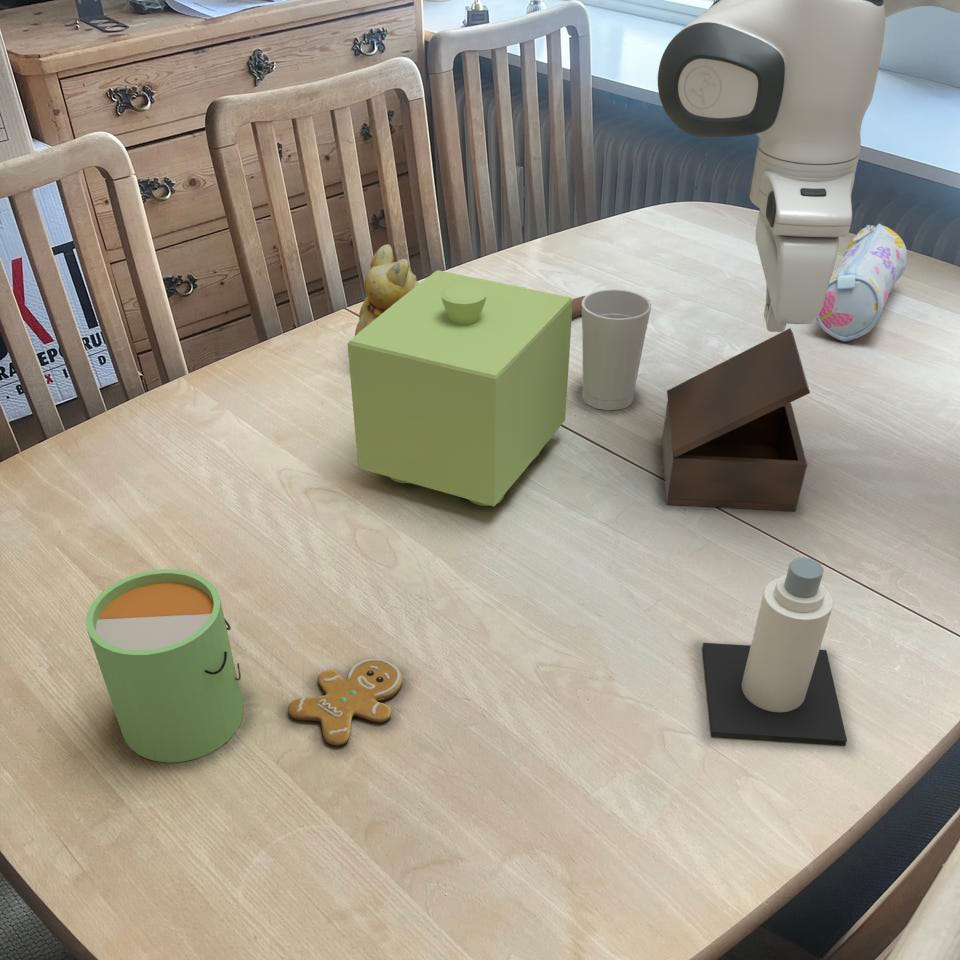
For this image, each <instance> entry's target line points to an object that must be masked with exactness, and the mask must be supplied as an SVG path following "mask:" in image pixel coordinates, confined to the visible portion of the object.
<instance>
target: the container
mask: <svg viewBox="0 0 960 960" xmlns="http://www.w3.org/2000/svg"><path fill="white" fill-rule="evenodd" d="M418 284H419V285H417V286H416V287H415V288H413V289H412V290H411V291H410V292H408V293H407V294H406V295H405V296H403V297H402V298H401V299H400V300H398V301H397V302H396V303H395V304H393V305H392V306H391V307H390V308H388V309H387V310H386V311H385V312H383V313H382V314H381V315H380V316H379V317H377V318H376V319H375V320H374V321H372V322H371V323H370V324H369V325H368V326H366V327H365V328H364V329H363V330H361V331H360V332H359V333H358V334H357V335H356V336H355V335H354V336H353V337H352V338H351V339H350V340H349V342H347V353H348V364H349V377H350V387H351V388H350V389H351V390H350V391H351V401H352V412H353V421H354V422H353V423H354V434H355V446H356V455H357V456H356V457H357V465H358V469H360V470H364V471H367V472H370V473H374V474H378V475H380V476H384V477H388V478H389V479H391V480H392V481H393V482H396V483H398V484H399V483H400V484H413V485H416V486H420V487H423V488H427V489H431V490H434V491H438V492H442V493H445V494H448V495H452V496H456V497H459V498H463V499H467V500H468V501H470V503H472V504H474V505H477V506H481V507H482V506H483V507H489V506H491V507H495V506H496V505H497V504H500V503H501V502H502V501H503V500H504V498H505V495H506V494H507V492H508V491H509V490H510V488H511V487H512V486H513V485H514V483H516V481H517V480H518V479H519V478H520V477H521V475H522V474H523V473H524V472H525V470H526V469H527V468H528V467H529V466H530V464H531V463H532V462H533V460H534V459H536V458H538V457H539V456H540V453H541V451H542V450H543V448H544V447H545V446H546V445H547V444H548V442H549V441H550V440H551V439H552V437H553V436H554V435H555V433H556V432H557V431H558V430H559V428H560V427H562V425H563V423H564V422H565V421H566V414H567V413H566V411H567V401H568V400H567V398H568V397H567V396H568V385H569V383H568V381H569V369H570V368H569V367H570V353H571V337H572V336H571V335H572V333H571V332H572V321H573V320H572V319H573V317H572V303H573V300H572V299H573V298H572V297H570V296H565V295H560V294H555V293H550V292H545V291H541V290H536V289H532V288H527V287H523V286H517V285H514V284H513V285H512V284H508V283H502V282H498V281H493V280H488V279H484V278H483V279H482V278H478V277H473V276H468V275H463V274H459V273H458V274H457V273H454V272H450V271H449V272H448V271H444V270H439V269H437V270H435V271H434V272H433V273H431V274H430V275H429V276H427V277H426V278H424V279H423V280H422V281H421V282H420V283H418Z"/></svg>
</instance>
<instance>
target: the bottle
mask: <svg viewBox="0 0 960 960" xmlns="http://www.w3.org/2000/svg"><path fill="white" fill-rule="evenodd" d="M823 575H824V567H823V566H822V564H821V563H820V562H818V561H817V560H815V559H813V558H808V557H796V558H794V559H793V560H791V561H790V562H789V565H788V567H787V573H785V574H783V575H781V576H780V577H776V578H773V579H772V580H770V581H769V582H768V583H767V584H766V586H765V587H764V590H763V594H762V597H761V602H760V606H759V609H758V610H759V611H758V614H757V618H756V622H755V626H754V630H753V635H752V639H751V643H750V646H751V647H750V651H749V655H748V659H747V663H746V668H745V672H744V676H743V680H742V691H743V693H744V695H745V696H746V698H747V699H748V700H749V701H750V702H751V703H753V704H754V705H756V706H757V707H759V708H761V709H764V710H767V711H772V712H788V711H792V710H794V709H796V708H798V707H799V706H800V705H801V704H802V703H803V701H804V699H805V696H806V693H807V689H808V686H809V683H810V680H811V676H812V673H813V670H814V666H815V663H816V660H817V656H818V653H819V650H821V646H822V644H823V640H824V636H825V633H826V630H827V626H828V623H829V620H830V616H831V613H832V610H833V608H834V599H833V596H832V595H831V593H830V591H829V590H828V589H827V588H826V587H825V585H824V583H822V579H823Z"/></svg>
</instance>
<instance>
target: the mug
mask: <svg viewBox="0 0 960 960" xmlns="http://www.w3.org/2000/svg"><path fill="white" fill-rule="evenodd" d="M85 626H86V631H87V634H88V637H89V640H90V643H91V645H92V648H93V649H92V650H93V652H94V655H95V657H96V660H97V663H98V666H99V669H100V672H101V675H102V678H103V681H104V684H105V687H106V691H107V692H108V696H109V699H110V702H111V704H112V708H113V711H114V713H115V716H116V720H117V723H118V725H119V728H120V732H121V734H122V737H123V739H124V742H125V744H126V745H127V746H128V747H129V749H130V750H131V751H133V752H134V753H135V754H137V755H138V756H141V757H143V758H144V759H147V760H151V761H154V762H158V763H159V762H160V763H182V762H183V763H184V762H189V761H192V760H196V759H200V758H203V757H204V756H206V755H209V754H211V753H213V752H214V751H217V750H218V749H220V748H221V747H222V746H224V745H225V744H226V743H227V742H228V741H230V740H231V739H232V737H233V736H234V735H236V733H237V731H238V729H239V728H240V726H241V723H242V721H243V718H244V702H243V698H242V694H241V689H240V685H239V681H240V680H241V679H242V678H241V677H242V676H241V675H242V674H241V669H240V663H239V662H237V664H235V662H234V657H233V652H232V647H231V643H230V638H229V633H228V631H231V625H230V623H229V622H228V621H227V619H226V618H225V615H224V611H223V606H222V601H221V596H220V594H219V592H218V589H217V588H216V586H215V585H214V584H213V583H212V582H211V581H209V580H208V579H207V578H206V577H204V576H202V575H200V574H198V573H194V572H192V571H188V570H183V569H182V570H181V569H174V568H173V569H172V568H171V569H170V568H169V569H168V568H165V569H152V570H148V571H142V572H139V573H136V574H135V573H134V574H132V575H129V576H127V577H124V578H122V579H120V580H118V581H116V582H113V584H111V585H109V586H108V587H106V588H105V589H104V590H102V592H100V594H98V595H97V596H96V597H95V598H94V600H93V601H92V603H91V604H90V606H89V608H88V610H87V612H86V617H85ZM235 665H237V671H236V666H235ZM237 672H238V675H237Z"/></svg>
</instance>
